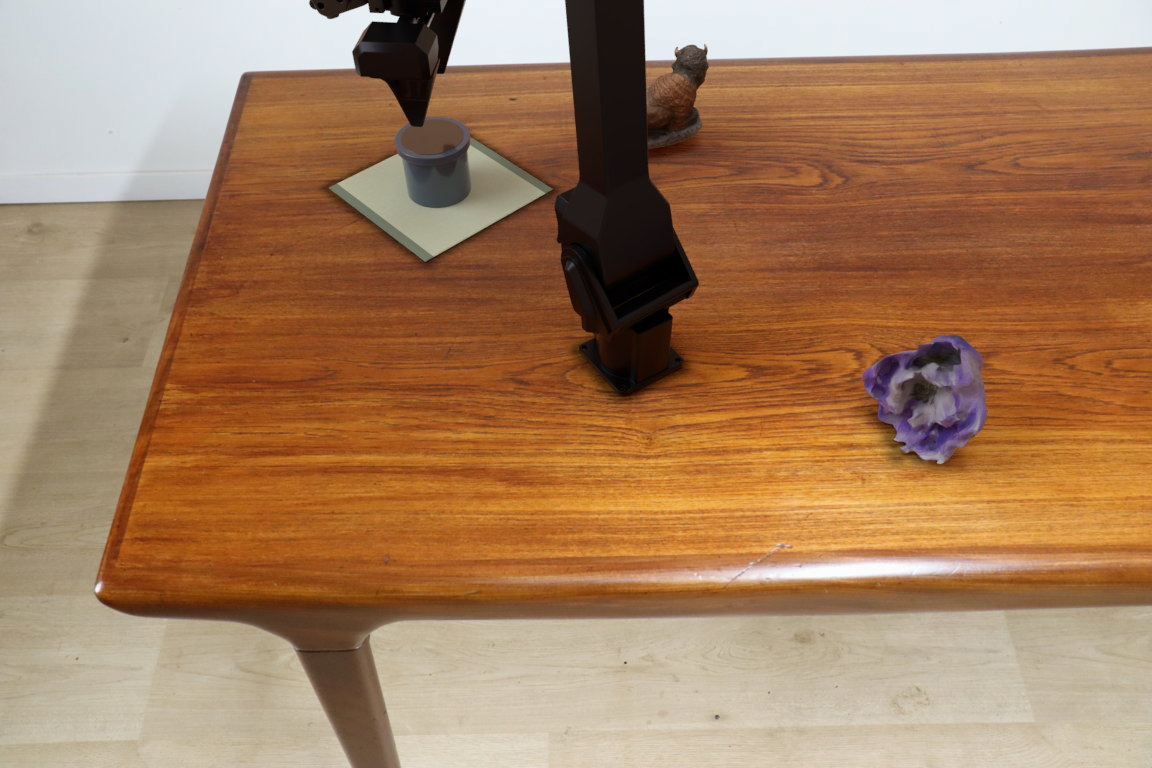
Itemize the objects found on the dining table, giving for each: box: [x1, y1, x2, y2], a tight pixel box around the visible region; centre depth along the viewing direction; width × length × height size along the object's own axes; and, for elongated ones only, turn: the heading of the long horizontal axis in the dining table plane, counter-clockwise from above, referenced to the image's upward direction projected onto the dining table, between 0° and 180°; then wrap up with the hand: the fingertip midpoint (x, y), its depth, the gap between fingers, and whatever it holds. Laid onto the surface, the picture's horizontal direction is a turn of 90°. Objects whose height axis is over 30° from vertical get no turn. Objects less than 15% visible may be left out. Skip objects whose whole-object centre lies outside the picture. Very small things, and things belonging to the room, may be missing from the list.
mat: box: [328, 136, 554, 263], centre depth 95 cm, size 16×16×1 cm
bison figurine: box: [646, 43, 710, 151], centre depth 97 cm, size 12×7×10 cm, turn 106°
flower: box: [861, 334, 988, 465], centre depth 72 cm, size 9×9×10 cm
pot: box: [394, 116, 471, 208], centre depth 93 cm, size 7×7×6 cm
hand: (428, 98), depth 88 cm, fingers open, 9 cm apart
